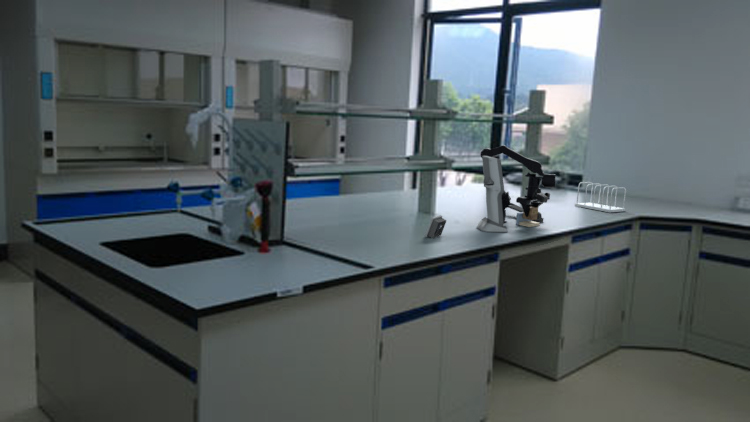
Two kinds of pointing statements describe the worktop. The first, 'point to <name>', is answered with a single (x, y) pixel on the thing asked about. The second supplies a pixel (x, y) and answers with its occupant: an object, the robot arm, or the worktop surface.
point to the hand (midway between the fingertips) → (530, 216)
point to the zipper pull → (520, 209)
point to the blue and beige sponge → (525, 221)
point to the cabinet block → (531, 213)
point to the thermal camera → (493, 196)
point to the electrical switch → (435, 227)
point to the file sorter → (600, 206)
